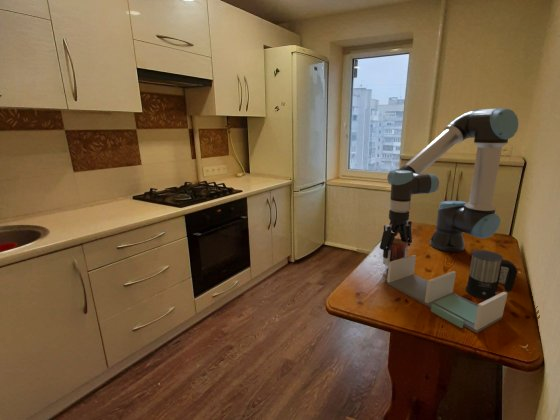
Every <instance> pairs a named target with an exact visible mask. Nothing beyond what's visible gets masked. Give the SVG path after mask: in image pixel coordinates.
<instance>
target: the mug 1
mask: <svg viewBox="0 0 560 420" xmlns="http://www.w3.org/2000/svg"><path fill="white" fill-rule="evenodd" d="M408 243H409V242H408V241H407V242H402V240H401V238H397V237H395V238H394V240H393V243H392V245H391V247H390V251H391V254H390V262H391V261H394V260H398V259H401V258H404V257H405V252H406V248H407V245H408ZM407 249H408V248H407Z"/></svg>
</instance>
